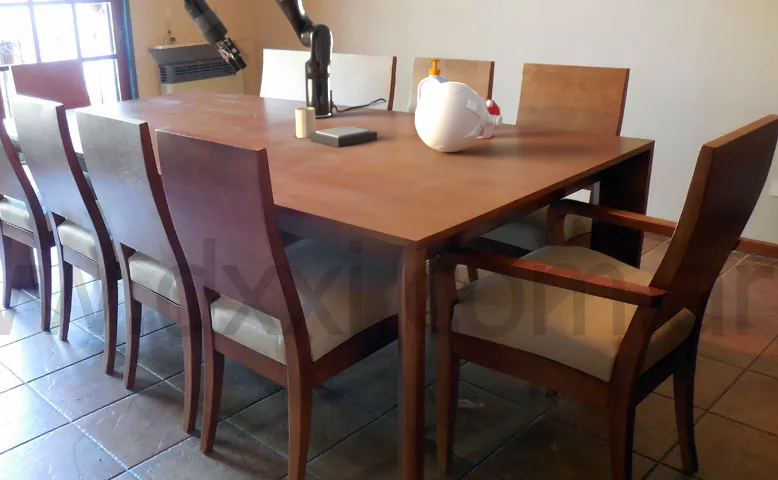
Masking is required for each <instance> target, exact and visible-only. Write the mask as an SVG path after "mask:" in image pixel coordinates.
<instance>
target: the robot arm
mask: <svg viewBox="0 0 778 480" xmlns="http://www.w3.org/2000/svg"><path fill="white" fill-rule="evenodd" d="M182 2H183V4H182V5H183V9H184V11H185V13H186V14H187V16H188V17H189V18H190V20H191V21H192V22H193V24H194V26H195V27H196V29H197V30H198V31H199V33H200V34H201V36H202V37H203V39H204V40H205V41H206V42H207V43H208V45H209V46H211V47H212V46H214V45H216V46H215V50H217V52H218V54H219V55H220V56H221V58H222V59H223V60H224V62H225V63H228V64H229V65H230V67H231V68H232V69H233V71H234V72H235V73H238V72H240V71H241V70H244V69H246V68H247V66H248V65H247V63H246V62H245V60H244V59H243V58H242V57H241V51H240V50H239V48H238V47H237V46H236V44H235V43H234V42H233V40H232V39H231V38H230V37H229V36H228V37H225V36H226V35H227V34H228V33H229V30H228V29H227V27H226V26H225V24H224V23H223V21H222V20H221V19H220V17H219V16H218V14H216V12H215V11H214V10H213V9H212V8H211V6H210V5H209V3H208V2H207V1H206V0H183V1H182ZM274 2H275V3H276V4H277V6H278V7H279V9H280V10H281V12H282V13H283V15H284V16H285V17H286V19H287V21H288V22H289V24H290V25H291V27H292V29H293V31H294V33H295V35H296V37H297V39H298V40H299V42H300V44H301V45H302V46H303V47H304V48H305V49H307V50H309V51H310V57H309V59H308V60H307V61H305V62H304V80H305V83H304V84H305V107H312V108H315V119H326V118H329V117H332V116H334V115H333V109H335V112H337V113H342V112H347V111H350V110H353V109H360V108H366V107H369V106H371V105H372V104H374V103H375V104H376V103H377V102H380V101H383V102H384V103H385V102H386V103H387V100H386V99H385V98H383V97H382V98H381V97H380V98H378V99H375V100H373V101H371V102H369V103H367V104H363V105H355V106H350V107H347V108H345V109H342V110H338V107H337V105H335V101H333V90H332V89H331V77H330V76H331V74H330V73H331V72H330V71H331V70H330V69H331V68H330V67H331V63H332V58H333V35H332V31H331V29H330V28H329V26H328V25H326V24H324V23H315V22H313V21H312V20H311V18H310V17H309V15H308V14H307V12H306V11H305V9H304V5H303V1H302V0H274Z"/></svg>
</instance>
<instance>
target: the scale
mask: <svg viewBox="0 0 778 480" xmlns="http://www.w3.org/2000/svg"><path fill="white" fill-rule="evenodd" d="M310 139H311V141H312V142H317V143H321V144H324V145H328V146H333V147H337V148H340V147H345V146H351V145H357V144H361V143H366V142H372V141H376V140H378V131H375V130H370V128H365V127H360V126H351V125H343V126H337V127H331V128H325V129H320V130H316V132H313V133H311V138H310Z"/></svg>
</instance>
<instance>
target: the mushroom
mask: <svg viewBox="0 0 778 480" xmlns="http://www.w3.org/2000/svg"><path fill="white" fill-rule="evenodd" d="M483 98H484V99H485V100H486V102H487V111H488V112H489V114H490V115H497V116H498V115H501V107H500V106H499V105H498V104H497V102H495V100H493V99H489V98H486V97H483ZM494 128H495V126H490V125H489V126H488V127H487V128H486V129H485V132H484V135H483V136H480V137H477V138H476V139H489V138H492V136H493V132H494Z"/></svg>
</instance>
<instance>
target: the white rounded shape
mask: <svg viewBox="0 0 778 480" xmlns="http://www.w3.org/2000/svg"><path fill="white" fill-rule="evenodd" d="M484 98H485V97H482V96H481V95H479V94H478V93H477V92H476V91H475V90H474V89H473V88H472V87H470V86H468V85H467V84H465V83H462V82H457V81H449V82H445V83H441V84H438V85H437V86H435V87H432V88H431V89H429V90H428V91H427V92H426V93H425V94H424V95H423V97H422V98H421V100H420V101H419V103H418V106H417V105H416V108H415V114H414V125H415V129H416V132H417V134H418V136H419V138H420V139H421V140H422V142H423V143H424V144H425V145H426V146H428V147H430V148H431V149H434V150H435V151H438V152H441V153H442V152H443V153H455V152H459V151H462V150H464V149H465V148H467V147H470V145H472V144H473V143H474V142H475V141H476V140H477V139H478V138H477V137H480V136H483V135H484V132H485V129H486V128H487V127H488V126H489V125H490V126H494V128H497V127H498V128H500V127H501V126H502V125H503V116H502V115H501V114H500V115H498V116H497V115H490V114H489V112H488V111H487V102H486V100H485V99H484Z"/></svg>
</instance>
